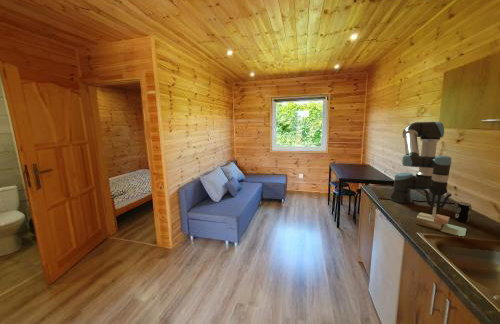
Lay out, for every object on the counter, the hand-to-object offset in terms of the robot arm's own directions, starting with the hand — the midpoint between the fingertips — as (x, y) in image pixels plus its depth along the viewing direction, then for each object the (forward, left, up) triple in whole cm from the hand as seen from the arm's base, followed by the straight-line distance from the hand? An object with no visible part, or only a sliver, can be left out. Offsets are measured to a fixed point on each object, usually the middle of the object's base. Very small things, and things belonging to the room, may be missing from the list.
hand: (433, 216), depth 131 cm
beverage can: (-20, +12, -6) cm, 24 cm away
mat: (0, +10, -6) cm, 11 cm away
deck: (0, -2, -6) cm, 6 cm away
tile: (0, +4, -2) cm, 4 cm away
